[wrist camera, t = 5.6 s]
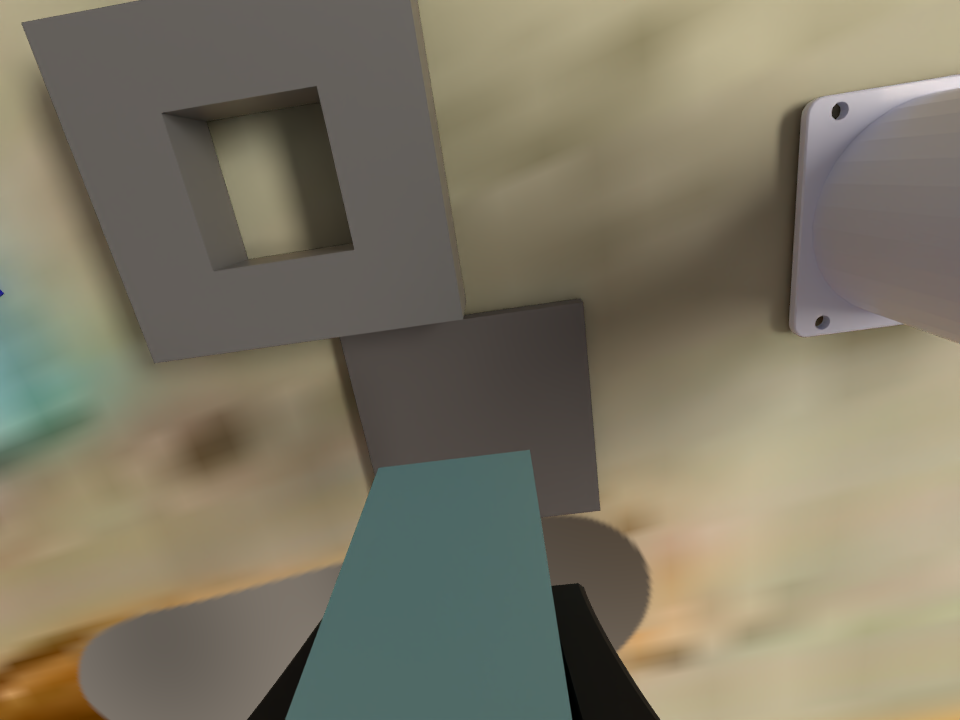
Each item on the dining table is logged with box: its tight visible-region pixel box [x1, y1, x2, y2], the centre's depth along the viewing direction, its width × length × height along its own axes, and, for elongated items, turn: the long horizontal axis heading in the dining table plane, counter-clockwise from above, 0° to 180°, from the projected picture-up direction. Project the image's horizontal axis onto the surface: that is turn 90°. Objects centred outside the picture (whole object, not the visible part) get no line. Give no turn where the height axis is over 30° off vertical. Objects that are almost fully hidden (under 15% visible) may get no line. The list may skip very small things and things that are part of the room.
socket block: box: [22, 0, 466, 363], centre depth 16 cm, size 11×10×2 cm
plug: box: [285, 450, 572, 720], centre depth 10 cm, size 4×4×8 cm
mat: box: [340, 299, 600, 518], centre depth 20 cm, size 9×9×1 cm
